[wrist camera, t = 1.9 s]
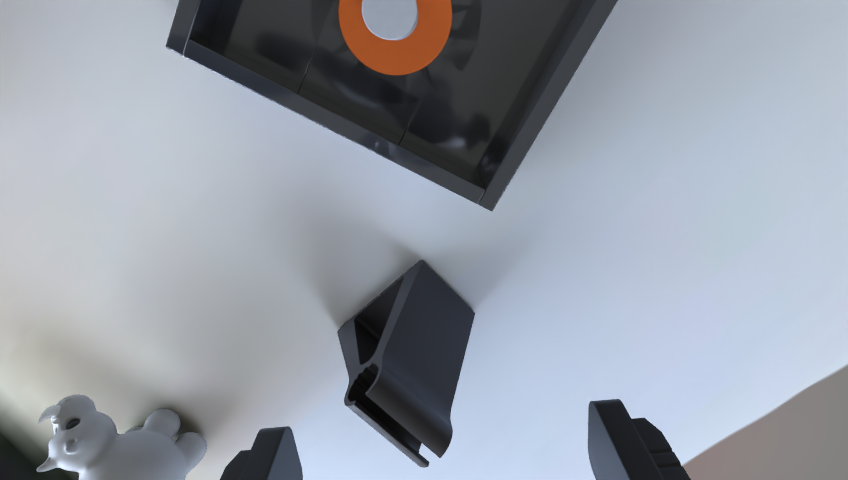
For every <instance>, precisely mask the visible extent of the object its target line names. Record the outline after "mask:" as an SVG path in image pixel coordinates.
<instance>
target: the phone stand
mask: <svg viewBox="0 0 848 480" xmlns="http://www.w3.org/2000/svg"><path fill="white" fill-rule="evenodd" d="M474 316H475V312H474V311H473V310H472V309H471V308H470V307H469V306H468V305H467V304H466V303H465V302H464V301H463V300H462V299H461V298H460V297H459V296H458V295H457V294H456V293H455V292H454V291H453V290H452V289H451V288H450V287H449V286H448V285H447V284H446V283H445V282H444V281H443V280H442V279H441V278H440V277H439V276H438V275H437V274H436V273H435V272H434V271H433V270H432V269H431V268H430V267H429V266H428V265H427V264H426V263H425V262H424V261H423V260H420V261H419V262H418V263H417V264H415V265H414V266H413V267H412V268H411V269H409V270H408V271H407V272H406V273H405V274H403V275H402V276H401V277H400V278H399V279H398V280H396V281H395V282H394V283H393V284H392V285H390V286H389V287H388V288H387V289H386V290H384V291H383V292H382V293H381V294H380V296H378V297H376V298H375V299H374V300H373V301H371V302H370V303H369V304H368V305H367V306H365V307H364V308H363V309H362V310H361V311H359V312H358V313H357V314H356V315H355V316H353V317H352V318H351V319H350V320H349V321H348V322H346V323H345V324H344V325H343V326H342V327H341V328H340V329H339V330H338V332H337V333H338V337H339V340H340V344H341V348H342V352H343V356H344V360H345V363H346V367H347V371H348V375H349V385H348V389H347V392H346V395H345V398H344V403H345V405H346V406H347V407H349V408H350V409H351V410H352V411H353V412H355V413H356V414H357V415H358V416H359V417H361V418H362V419H363V420H364V421H365V422H367V423H368V424H369V425H370V426H371V427H373V428H374V429H375V430H376V431H377V432H379V433H380V434H381V435H382V436H383V437H385V438H386V439H387V440H388V441H389V442H391V443H392V444H393V445H394V446H396V447H397V448H398V449H399V450H400V451H402V452H403V453H404V454H405V455H406V456H408V457H409V458H410V459H411V460H412V461H414V462H415V463H416V464H417V465H418V466H420V467H428V465H429V461H427V460H426V459H425V458H424V457H423V456H421V455H420V454H419V449H420V446H421V443H423V444H424V445H425V446H426V447H427V448H429V449H430V450H431V451H432V452H433V453H435V454H436V455H437V456H438V457H439V458H441V457H442V456H443V454H444V453H445V451H446V450H447V448H448V446H449V444H450V442H451V439H452V433H453V430H452V426H451V421H450V413H451V407H452V403H453V399H454V395H455V391H456V387H457V383H458V379H459V375H460V371H461V367H462V363H463V359H464V355H465V351H466V347H467V343H468V339H469V335H470V331H471V327H472V323H473V320H474Z"/></svg>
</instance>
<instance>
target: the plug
mask: <svg viewBox="0 0 848 480" xmlns="http://www.w3.org/2000/svg"><path fill="white" fill-rule="evenodd" d="M338 14H339V24H340V28H341V32H342V35H343V37H344V40H345V42H346V44H347V46H348V47H349V49H350V50H351V52H352V53H353V54H354V55H355V57H356V58H357V59H358V60H359V61H361V62H362V63H363V64H364V65H366V66H367V67H369V68H371V69H372V70H375V71H377V72H380V73H383V74H388V75H406V74H410V73H413V72H416V71H418V70H420V69H422V68H424V67H426V66H427V65H428V64H429V63H431V62H432V61H433V60H434V59H435V58H436V57H437V56H438V54H439V53H440V52H441V50H442V49H443V47H444V45H445V44H446V41H447V39H448V36H449V33H450V29H451V24H452V4H451V0H339V8H338Z"/></svg>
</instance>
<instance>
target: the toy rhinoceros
mask: <svg viewBox="0 0 848 480" xmlns="http://www.w3.org/2000/svg"><path fill="white" fill-rule="evenodd" d="M47 418H51V420H52V425H53V429H54V437H53V438H52V439H51V441H50V442H49V457H48V458H47V460H46V461H45V463H44V464H42V465H41V466H40V467H38V468H37V471H38V472H43V471H48V470H51V469H54V468H57V467H59V468H62V469H65V470H69V471H77V472H78V473H79V480H185V477H186V475H187V473H188V472H189V471H190V470H192V469H193V468H194V467H195V466H196V465H197V464H198V463H199V462H200V460H201V459H202V458H203V456H204V454H205V452H206V449H207V443H206V440H205V439H204V437H203V436H201V435H200V434H198V433H193V432H189V433H184V434H182V435H180V436H179V437H178V439H177V440H176V441H175V442H174V440H173V437H174V436H175V435H176V433H177V432H178V430H179V427H180V419H179V417H178V415H177V414H176V413H175V412H173V411H171V410H168V409H158V410H155V411H154V412H153V413H152V414H151V415H150V416H149V417H148V418H147V420H146V422H145V424H144V426H143V427H133V428H131V429H129V430H128V431H126V432H125V433H124V434H118V433H117V429H116V426H115V423H114V422H113V420H112V419H111V418H110V417H109V416H107V415H105V414H103V413H100V412H98V411H96V408H95V405H94V403H93V401H92V400H91V399H90V398H88V397H87V396H84V395H72V396H68V397H66V398H64V399H62V400H61V401H60V402H58V404H56V405H54V406H51V407H49V408H47V409H46V410H44V412H43V413H42V414H41V416H40V419H39V424H40V423H41V422H42V421H43V420H45V419H47Z"/></svg>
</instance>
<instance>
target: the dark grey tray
mask: <svg viewBox="0 0 848 480" xmlns="http://www.w3.org/2000/svg"><path fill="white" fill-rule="evenodd" d="M617 1H618V0H582V1H581V3H580V5H579V6H578V8H577V10H576V12H575V13H574V15H573V17H572V19H571V20H570V22H569V24H568V26H567V27H566V29H565V31H564V33H563V35H562V36H561V38H560V40H559V42H558V43H557V45H556V47H555V49H554V50H553V52H552V54H551V56H550V57H549V59H548V61H547V63H546V64H545V66H544V68H543V70H542V71H541V73H540V75H539V77H538V78H537V80H536V82H535V84H534V85H533V87H532V89H531V91H530V92H529V94H528V96H527V98H526V99H525V101H524V103H523V105H522V106H521V108H520V110H519V112H518V113H517V115H516V117H515V119H514V120H513V122H512V124H511V126H510V127H509V129H508V131H507V133H506V134H505V136H504V138H503V140H502V141H501V143H500V145H499V147H498V148H497V150H496V152H495V154H494V155H493V157H492V159H491V161H490V162H489V164H488V166H487V168H486V169H485V171H484V173H483V175H482V176H481V178H480V177H479V176H477V175H475V174H473V173H471V172H469V171H467V170H465V169H463V168H461V167H459V166H457V165H455V164H453V163H452V162H450V161H448V160H446V159H444V158H442V157H440V156H438V155H436V154H434V153H432V152H430V151H428V150H426V149H424V148H422V147H420V146H418V145H416V144H415V143H413V142H411V141H409V140H407V139H405V138H403V137H401V136H399V135H397V134H395V133H393V132H391V131H389V130H387V129H385V128H383V127H381V126H379V125H378V124H376V123H374V122H372V121H370V120H368V119H366V118H364V117H362V116H360V115H358V114H356V113H354V112H352V111H350V110H348V109H346V108H344V107H342V106H341V105H339V104H337V103H335V102H333V101H331V100H329V99H327V98H325V97H323V96H321V95H319V94H317V93H315V92H313V91H311V90H309V89H307V88H305V87H304V86H302V85H300V84H298V83H296V82H294V81H292V80H290V79H288V78H286V77H284V76H282V75H280V74H278V73H276V72H274V71H272V70H270V69H268V68H267V67H265V66H263V65H261V64H259V63H257V62H255V61H253V60H251V59H249V58H247V57H245V56H243V55H241V54H239V53H237V52H235V51H233V50H231V49H230V48H228V47H226V46H224V45H222V44H220V43H218V42H216V41H214V40H212V39H211V37H212V34H213V30H214V27H215V24H216V21H217V18H218V15H219V12H220V9H221V6H222V3H223V0H179V4H178V7H177V10H176V14H175V17H174V20H173V24H172V27H171V30H170V34H169V37H168V40H167V44H166V47H167V48H168V49H170V50H172V51H174V52H176V53H178V54H180V55H182V56H184V57H186V58H188V59H190V60H192V61H194V62H195V63H197V64H199V65H201V66H203V67H205V68H207V69H209V70H211V71H213V72H215V73H217V74H219V75H221V76H223V77H225V78H227V79H229V80H231V81H233V82H235V83H237V84H239V85H241V86H243V87H245V88H247V89H249V90H251V91H253V92H255V93H257V94H259V95H261V96H263V97H265V98H267V99H269V100H271V101H273V102H275V103H277V104H279V105H281V106H283V107H285V108H287V109H289V110H291V111H293V112H295V113H297V114H299V115H301V116H303V117H305V118H307V119H309V120H311V121H313V122H315V123H317V124H319V125H321V126H323V127H325V128H327V129H329V130H331V131H333V132H335V133H337V134H339V135H341V136H343V137H345V138H347V139H349V140H351V141H353V142H355V143H357V144H359V145H361V146H363V147H365V148H367V149H369V150H371V151H373V152H375V153H377V154H379V155H381V156H383V157H385V158H387V159H389V160H391V161H393V162H395V163H396V164H398V165H400V166H402V167H404V168H406V169H408V170H410V171H412V172H414V173H416V174H418V175H420V176H422V177H424V178H426V179H428V180H430V181H432V182H434V183H436V184H438V185H440V186H442V187H444V188H446V189H448V190H450V191H452V192H454V193H456V194H458V195H460V196H462V197H464V198H466V199H468V200H470V201H472V202H474V203H476V204H478V205H480V206H482V207H484V208H486V209H488V210H490V211H493V209H494V208H495V206H496V204H497V203H498V201H499V199H500V198H501V196H502V194H503V193H504V191H505V189H506V188H507V186H508V184H509V183H510V181H511V179H512V178H513V176H514V174H515V172H516V171H517V169H518V167H519V166H520V164H521V162H522V161H523V159H524V157H525V156H526V154H527V152H528V151H529V149H530V147H531V146H532V144H533V142H534V141H535V139H536V137H537V135H538V134H539V132H540V130H541V129H542V127H543V125H544V124H545V122H546V120H547V119H548V117H549V115H550V114H551V112H552V110H553V109H554V107H555V105H556V104H557V102H558V100H559V98H560V97H561V95H562V93H563V92H564V90H565V88H566V87H567V85H568V83H569V82H570V80H571V78H572V77H573V75H574V73H575V72H576V70H577V68H578V67H579V65H580V63H581V61H582V60H583V58H584V56H585V55H586V53H587V51H588V50H589V48H590V46H591V45H592V43H593V41H594V40H595V38H596V36H597V35H598V33H599V31H600V30H601V28H602V26H603V25H604V23H605V21H606V19H607V18H608V16H609V14H610V13H611V11H612V9H613V8H614V6H615V4H616V3H617Z"/></svg>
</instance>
